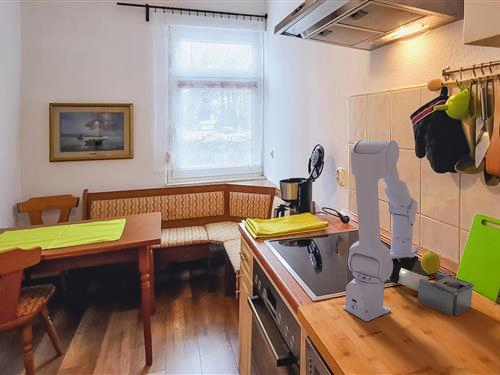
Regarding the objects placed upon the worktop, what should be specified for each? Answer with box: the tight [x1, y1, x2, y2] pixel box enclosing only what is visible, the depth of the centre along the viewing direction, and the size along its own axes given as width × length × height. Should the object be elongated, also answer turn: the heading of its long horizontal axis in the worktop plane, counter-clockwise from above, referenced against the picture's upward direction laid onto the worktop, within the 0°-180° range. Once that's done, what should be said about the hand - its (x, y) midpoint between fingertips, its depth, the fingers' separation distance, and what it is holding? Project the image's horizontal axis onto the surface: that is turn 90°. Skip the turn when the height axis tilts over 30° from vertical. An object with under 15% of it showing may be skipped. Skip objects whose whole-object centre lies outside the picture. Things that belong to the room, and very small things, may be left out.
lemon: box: [420, 250, 441, 276], centre depth 107 cm, size 6×6×8 cm
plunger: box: [447, 280, 460, 289], centre depth 86 cm, size 3×3×2 cm
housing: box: [417, 271, 476, 317], centre depth 88 cm, size 10×9×6 cm
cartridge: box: [388, 268, 429, 292], centre depth 98 cm, size 10×5×5 cm, turn 31°
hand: (399, 280), depth 100 cm, fingers closed on cartridge, 5 cm apart
